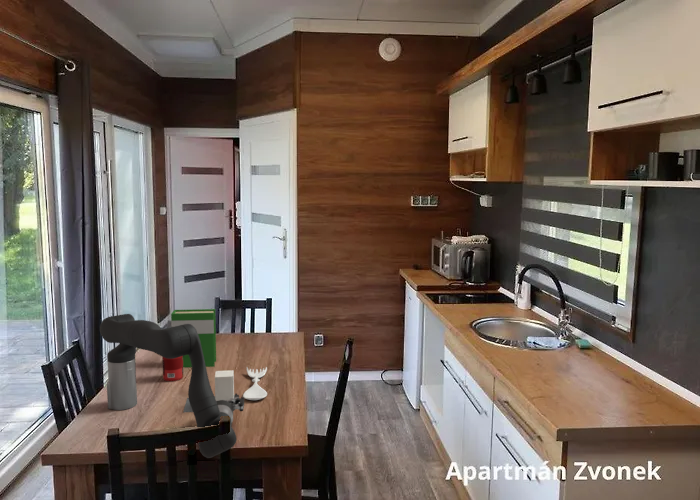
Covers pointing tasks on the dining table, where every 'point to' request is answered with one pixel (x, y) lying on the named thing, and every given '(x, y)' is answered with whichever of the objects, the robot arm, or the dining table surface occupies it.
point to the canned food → (173, 369)
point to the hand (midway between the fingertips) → (223, 396)
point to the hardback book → (199, 331)
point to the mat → (189, 406)
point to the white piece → (255, 386)
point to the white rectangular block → (224, 385)
